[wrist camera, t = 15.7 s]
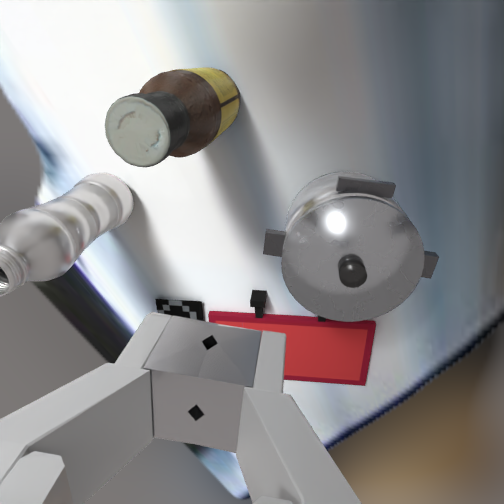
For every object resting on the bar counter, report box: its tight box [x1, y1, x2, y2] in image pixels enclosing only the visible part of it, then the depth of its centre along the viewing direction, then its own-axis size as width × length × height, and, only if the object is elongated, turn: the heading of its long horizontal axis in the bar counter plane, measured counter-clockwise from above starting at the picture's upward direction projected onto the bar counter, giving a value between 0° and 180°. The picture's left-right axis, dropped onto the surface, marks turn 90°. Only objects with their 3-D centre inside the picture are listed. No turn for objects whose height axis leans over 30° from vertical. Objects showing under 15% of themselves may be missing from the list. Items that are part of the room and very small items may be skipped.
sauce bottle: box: [105, 68, 240, 167], centre depth 29 cm, size 6×6×20 cm
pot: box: [263, 172, 439, 278], centre depth 38 cm, size 14×17×8 cm
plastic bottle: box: [0, 173, 134, 296], centre depth 35 cm, size 6×7×20 cm
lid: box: [281, 196, 425, 322], centre depth 33 cm, size 13×13×3 cm
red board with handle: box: [156, 290, 376, 386], centre depth 50 cm, size 30×3×15 cm
